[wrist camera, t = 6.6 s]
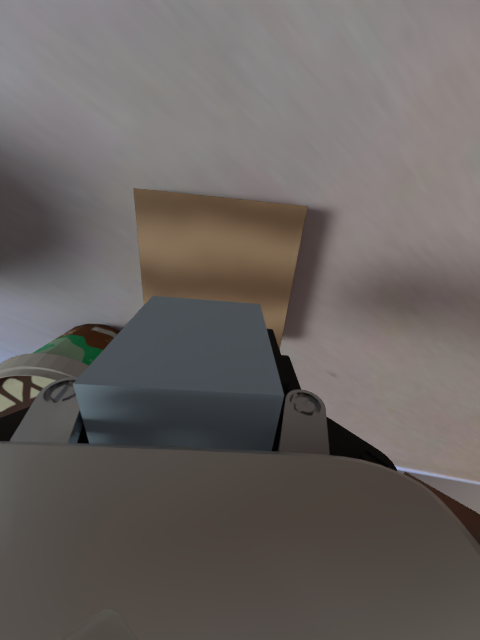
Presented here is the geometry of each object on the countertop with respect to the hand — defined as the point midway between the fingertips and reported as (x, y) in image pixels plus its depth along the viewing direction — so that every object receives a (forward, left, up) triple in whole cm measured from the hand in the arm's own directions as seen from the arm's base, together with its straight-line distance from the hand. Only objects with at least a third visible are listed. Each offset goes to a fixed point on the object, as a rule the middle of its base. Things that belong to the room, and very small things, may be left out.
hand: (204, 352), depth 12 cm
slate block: (0, 0, -1) cm, 1 cm away
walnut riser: (0, 0, -15) cm, 15 cm away
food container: (+10, -16, -15) cm, 24 cm away
